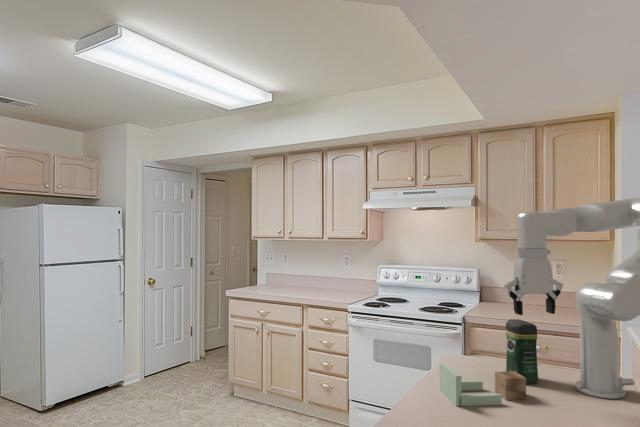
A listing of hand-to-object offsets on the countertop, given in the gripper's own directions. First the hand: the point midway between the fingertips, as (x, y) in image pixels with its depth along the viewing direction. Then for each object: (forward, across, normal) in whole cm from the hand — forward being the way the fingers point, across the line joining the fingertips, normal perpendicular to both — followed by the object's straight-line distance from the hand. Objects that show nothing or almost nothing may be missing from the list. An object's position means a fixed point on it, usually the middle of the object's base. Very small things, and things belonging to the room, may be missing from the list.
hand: (534, 313), depth 128 cm
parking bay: (+23, +20, 0) cm, 30 cm away
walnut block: (+23, +8, 0) cm, 24 cm away
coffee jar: (+23, -3, -13) cm, 27 cm away
